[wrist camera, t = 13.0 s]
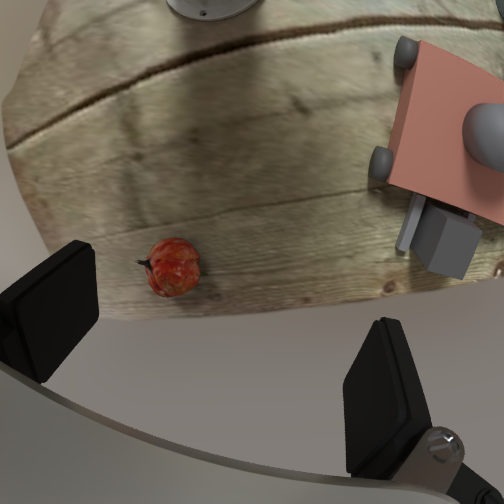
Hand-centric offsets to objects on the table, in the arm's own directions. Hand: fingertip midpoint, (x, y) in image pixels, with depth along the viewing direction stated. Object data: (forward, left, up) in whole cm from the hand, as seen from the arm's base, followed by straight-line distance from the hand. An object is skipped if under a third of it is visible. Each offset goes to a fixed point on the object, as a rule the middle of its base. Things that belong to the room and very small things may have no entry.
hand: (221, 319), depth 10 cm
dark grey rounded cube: (+2, +20, -28) cm, 35 cm away
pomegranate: (+14, -10, -29) cm, 33 cm away
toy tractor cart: (-6, +20, -28) cm, 35 cm away
